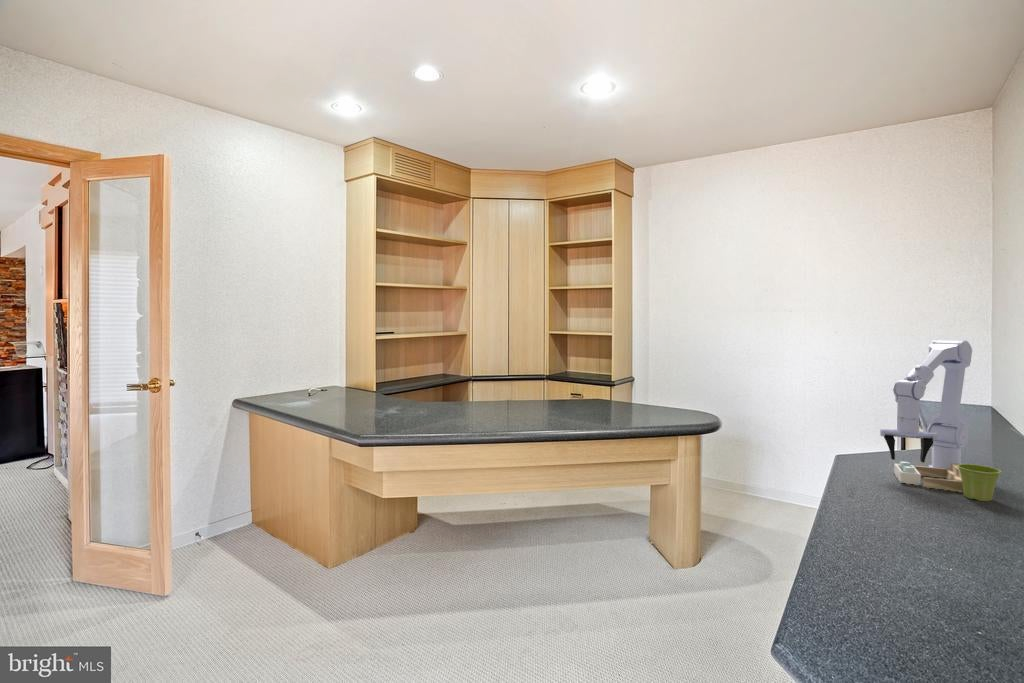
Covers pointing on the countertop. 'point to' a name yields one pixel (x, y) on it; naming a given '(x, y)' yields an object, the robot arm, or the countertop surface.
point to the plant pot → (978, 481)
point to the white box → (907, 473)
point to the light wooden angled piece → (951, 474)
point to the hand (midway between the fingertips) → (907, 460)
